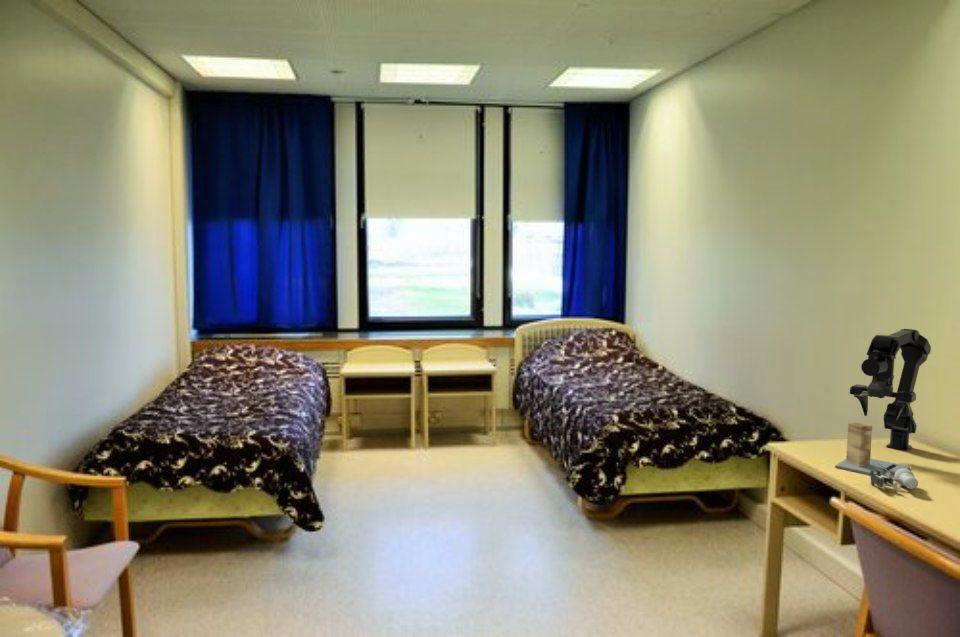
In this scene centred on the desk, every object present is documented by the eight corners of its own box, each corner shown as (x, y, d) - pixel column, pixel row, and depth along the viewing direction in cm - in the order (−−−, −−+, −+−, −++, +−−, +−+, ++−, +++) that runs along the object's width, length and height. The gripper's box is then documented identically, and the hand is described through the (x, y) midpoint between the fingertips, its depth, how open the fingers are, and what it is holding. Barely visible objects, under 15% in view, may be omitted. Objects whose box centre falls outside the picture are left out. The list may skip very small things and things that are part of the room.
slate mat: (852, 457, 235) (852, 454, 234) (909, 468, 222) (909, 466, 222) (835, 467, 223) (835, 465, 223) (894, 480, 211) (894, 478, 211)
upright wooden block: (857, 460, 228) (859, 422, 227) (869, 465, 224) (872, 425, 222) (846, 462, 227) (848, 423, 225) (858, 466, 222) (860, 426, 221)
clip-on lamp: (863, 477, 218) (876, 492, 201) (862, 457, 218) (875, 470, 201) (905, 478, 215) (923, 493, 198) (904, 457, 215) (922, 471, 197)
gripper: (845, 372, 234) (842, 417, 236) (908, 379, 221) (905, 427, 222) (856, 368, 242) (853, 411, 243) (918, 375, 229) (914, 421, 230)
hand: (880, 418), depth 235 cm, fingers open, 9 cm apart
